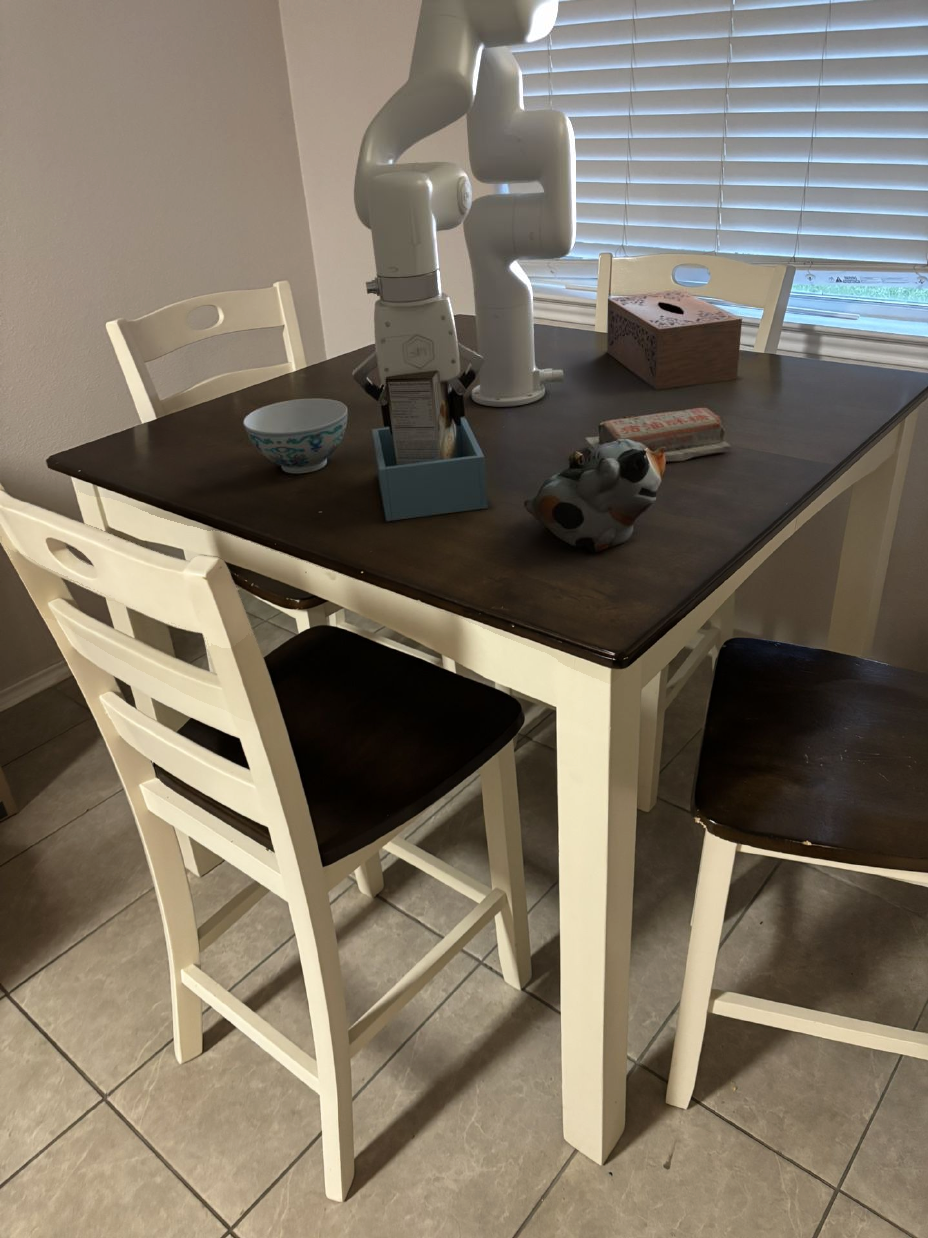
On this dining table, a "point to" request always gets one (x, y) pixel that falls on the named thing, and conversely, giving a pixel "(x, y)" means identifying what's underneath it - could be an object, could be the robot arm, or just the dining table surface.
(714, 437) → the packaged product
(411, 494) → the bin
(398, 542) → the dining table surface
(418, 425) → the coffee box
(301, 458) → the chinaware
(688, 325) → the tissue box cover
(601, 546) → the lucky cat figurine
